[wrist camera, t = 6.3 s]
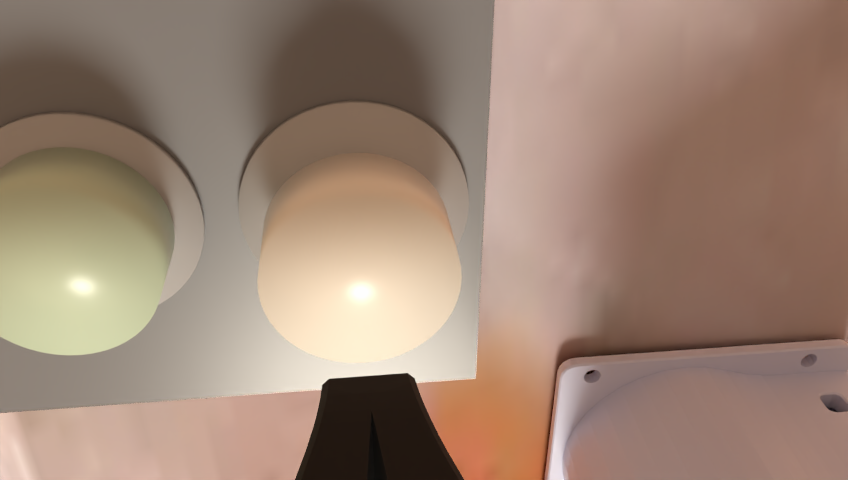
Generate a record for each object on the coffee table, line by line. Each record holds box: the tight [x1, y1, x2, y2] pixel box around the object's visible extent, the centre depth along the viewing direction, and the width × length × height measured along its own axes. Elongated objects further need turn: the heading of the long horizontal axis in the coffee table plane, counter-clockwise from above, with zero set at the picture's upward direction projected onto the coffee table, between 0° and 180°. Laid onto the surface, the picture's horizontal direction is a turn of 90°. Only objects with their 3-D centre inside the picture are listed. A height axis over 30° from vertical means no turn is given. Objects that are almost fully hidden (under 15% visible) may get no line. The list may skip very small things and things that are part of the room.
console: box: [0, 0, 494, 413], centre depth 19 cm, size 18×11×3 cm, turn 90°
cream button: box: [257, 153, 462, 363], centre depth 17 cm, size 4×4×2 cm
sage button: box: [0, 147, 175, 355], centre depth 17 cm, size 4×4×2 cm
